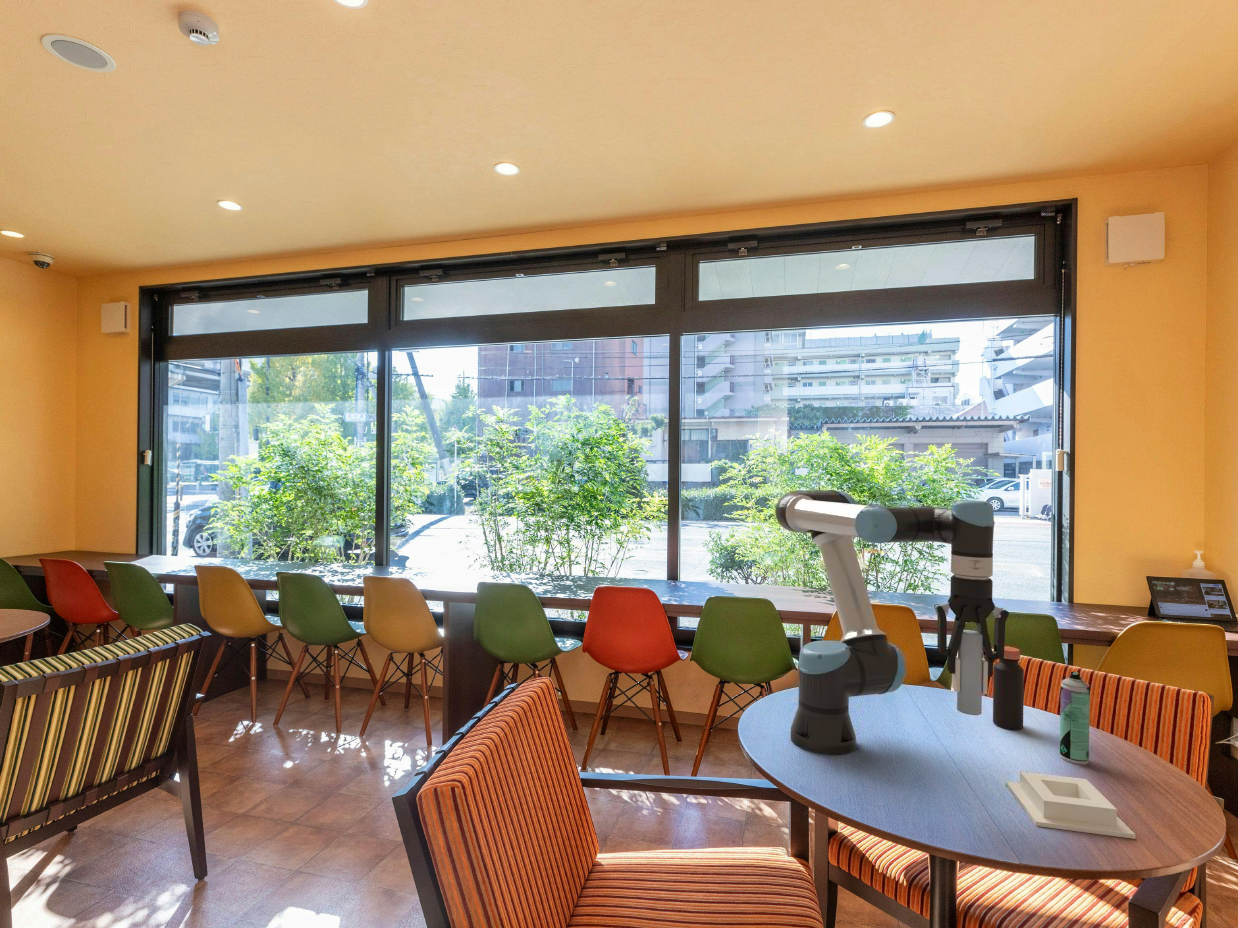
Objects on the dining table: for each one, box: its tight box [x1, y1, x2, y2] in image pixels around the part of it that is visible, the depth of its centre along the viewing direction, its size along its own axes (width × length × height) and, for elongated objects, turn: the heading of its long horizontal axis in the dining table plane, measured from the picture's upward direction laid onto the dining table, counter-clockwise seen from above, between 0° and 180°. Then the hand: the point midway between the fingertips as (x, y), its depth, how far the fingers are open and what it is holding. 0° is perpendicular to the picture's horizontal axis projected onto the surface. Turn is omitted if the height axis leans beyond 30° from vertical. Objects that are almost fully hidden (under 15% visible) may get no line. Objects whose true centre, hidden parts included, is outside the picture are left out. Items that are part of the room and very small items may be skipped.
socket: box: [1005, 771, 1136, 840], centre depth 125 cm, size 16×16×4 cm
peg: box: [956, 629, 984, 716], centre depth 131 cm, size 4×4×16 cm
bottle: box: [992, 645, 1025, 731], centre depth 167 cm, size 7×7×20 cm
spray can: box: [1059, 671, 1091, 766], centre depth 148 cm, size 6×6×20 cm
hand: (969, 690), depth 131 cm, fingers closed on peg, 4 cm apart
